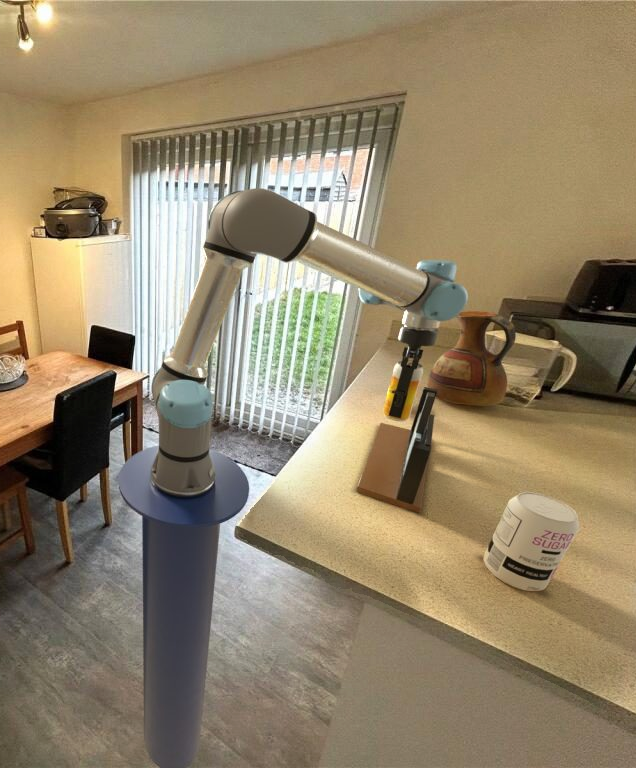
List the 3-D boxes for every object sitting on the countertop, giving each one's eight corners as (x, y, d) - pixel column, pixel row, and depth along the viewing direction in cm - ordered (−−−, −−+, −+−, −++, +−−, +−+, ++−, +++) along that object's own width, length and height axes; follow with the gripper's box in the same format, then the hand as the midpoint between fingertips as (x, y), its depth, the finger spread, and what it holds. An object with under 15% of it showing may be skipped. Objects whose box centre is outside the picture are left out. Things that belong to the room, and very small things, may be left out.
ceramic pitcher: (439, 384, 144) (465, 303, 132) (509, 404, 128) (546, 314, 116) (412, 396, 135) (437, 310, 123) (484, 420, 119) (521, 324, 107)
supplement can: (501, 550, 74) (532, 485, 68) (556, 586, 66) (596, 517, 60) (470, 561, 71) (500, 495, 65) (524, 600, 64) (563, 530, 58)
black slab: (400, 482, 88) (426, 401, 80) (407, 450, 99) (430, 377, 91) (407, 484, 87) (433, 403, 79) (413, 452, 99) (436, 378, 91)
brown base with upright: (356, 491, 90) (371, 434, 84) (379, 426, 116) (391, 379, 110) (419, 513, 83) (440, 452, 77) (428, 439, 110) (444, 389, 104)
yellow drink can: (381, 410, 108) (394, 359, 102) (407, 414, 106) (422, 362, 100) (382, 419, 103) (396, 366, 97) (410, 424, 101) (426, 370, 95)
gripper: (437, 338, 86) (409, 430, 95) (440, 320, 99) (415, 402, 109) (397, 333, 90) (374, 421, 99) (405, 317, 104) (384, 395, 113)
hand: (396, 411), depth 104 cm, fingers closed on yellow drink can, 6 cm apart
